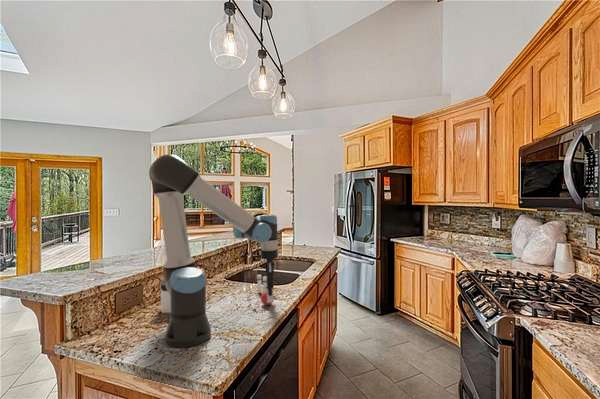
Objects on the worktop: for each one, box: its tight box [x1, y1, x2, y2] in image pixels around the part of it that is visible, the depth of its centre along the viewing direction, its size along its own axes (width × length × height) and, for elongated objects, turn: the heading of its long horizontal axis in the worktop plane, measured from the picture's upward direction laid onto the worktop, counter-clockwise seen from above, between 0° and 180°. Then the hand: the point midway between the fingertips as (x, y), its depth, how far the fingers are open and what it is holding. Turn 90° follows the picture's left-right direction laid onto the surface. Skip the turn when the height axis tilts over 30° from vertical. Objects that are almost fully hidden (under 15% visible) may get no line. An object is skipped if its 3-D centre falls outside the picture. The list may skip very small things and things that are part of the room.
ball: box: [260, 292, 275, 306], centre depth 141 cm, size 6×6×6 cm
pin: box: [256, 274, 262, 294], centre depth 160 cm, size 2×2×9 cm
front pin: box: [262, 276, 267, 294], centre depth 156 cm, size 2×2×9 cm
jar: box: [160, 281, 171, 314], centre depth 135 cm, size 9×8×12 cm
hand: (270, 301), depth 138 cm, fingers closed
